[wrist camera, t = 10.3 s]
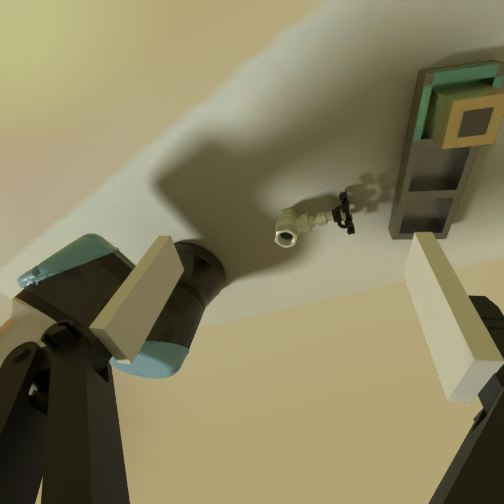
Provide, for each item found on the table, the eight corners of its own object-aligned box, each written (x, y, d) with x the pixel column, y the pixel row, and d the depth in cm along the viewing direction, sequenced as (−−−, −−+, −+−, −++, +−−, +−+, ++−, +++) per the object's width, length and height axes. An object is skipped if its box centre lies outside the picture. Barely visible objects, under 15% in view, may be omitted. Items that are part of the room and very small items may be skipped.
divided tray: (388, 228, 45) (392, 239, 42) (418, 70, 31) (426, 74, 29) (439, 227, 43) (446, 239, 41) (494, 60, 30) (509, 62, 27)
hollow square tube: (421, 129, 34) (442, 149, 29) (429, 88, 32) (454, 101, 26) (463, 123, 33) (494, 144, 27) (475, 80, 30) (512, 92, 25)
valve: (284, 234, 50) (352, 218, 45) (280, 257, 45) (356, 242, 40) (271, 203, 46) (344, 183, 41) (265, 225, 41) (347, 204, 36)
